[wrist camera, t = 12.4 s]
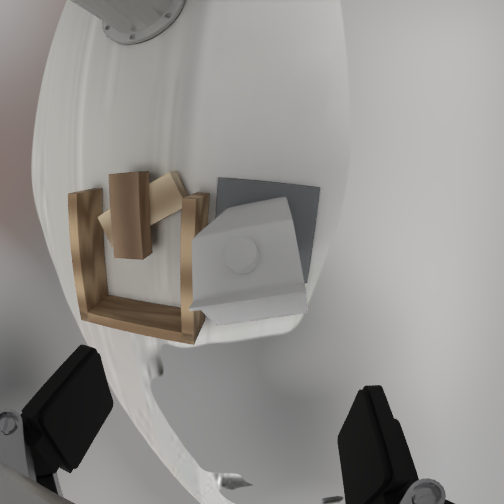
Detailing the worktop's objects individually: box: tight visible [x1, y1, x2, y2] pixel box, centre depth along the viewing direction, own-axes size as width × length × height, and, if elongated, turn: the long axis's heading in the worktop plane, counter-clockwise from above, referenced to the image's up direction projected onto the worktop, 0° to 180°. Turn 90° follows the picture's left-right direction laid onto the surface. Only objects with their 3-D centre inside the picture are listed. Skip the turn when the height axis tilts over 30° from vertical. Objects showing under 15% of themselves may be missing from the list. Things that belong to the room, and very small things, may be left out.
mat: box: [215, 178, 320, 283], centre depth 35 cm, size 12×12×1 cm
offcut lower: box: [98, 171, 189, 247], centre depth 35 cm, size 4×12×3 cm, turn 115°
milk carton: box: [189, 197, 308, 325], centre depth 26 cm, size 7×7×19 cm
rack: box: [68, 188, 209, 345], centre depth 35 cm, size 18×17×6 cm
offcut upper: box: [109, 171, 152, 260], centre depth 32 cm, size 4×10×3 cm, turn 179°
